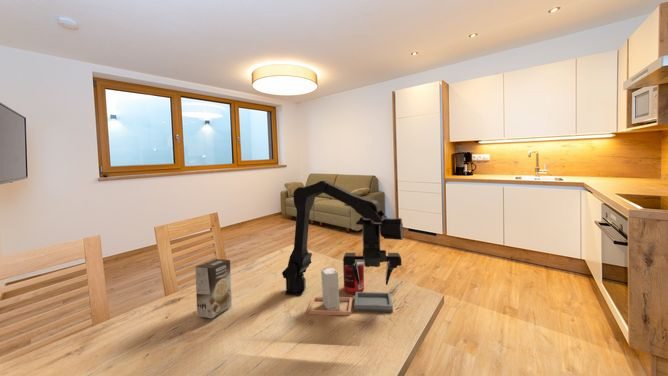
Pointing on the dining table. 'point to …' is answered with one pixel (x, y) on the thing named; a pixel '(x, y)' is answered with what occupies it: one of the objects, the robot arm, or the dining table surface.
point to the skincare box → (330, 289)
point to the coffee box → (213, 287)
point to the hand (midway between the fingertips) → (372, 284)
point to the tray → (373, 302)
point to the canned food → (353, 279)
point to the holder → (330, 312)
